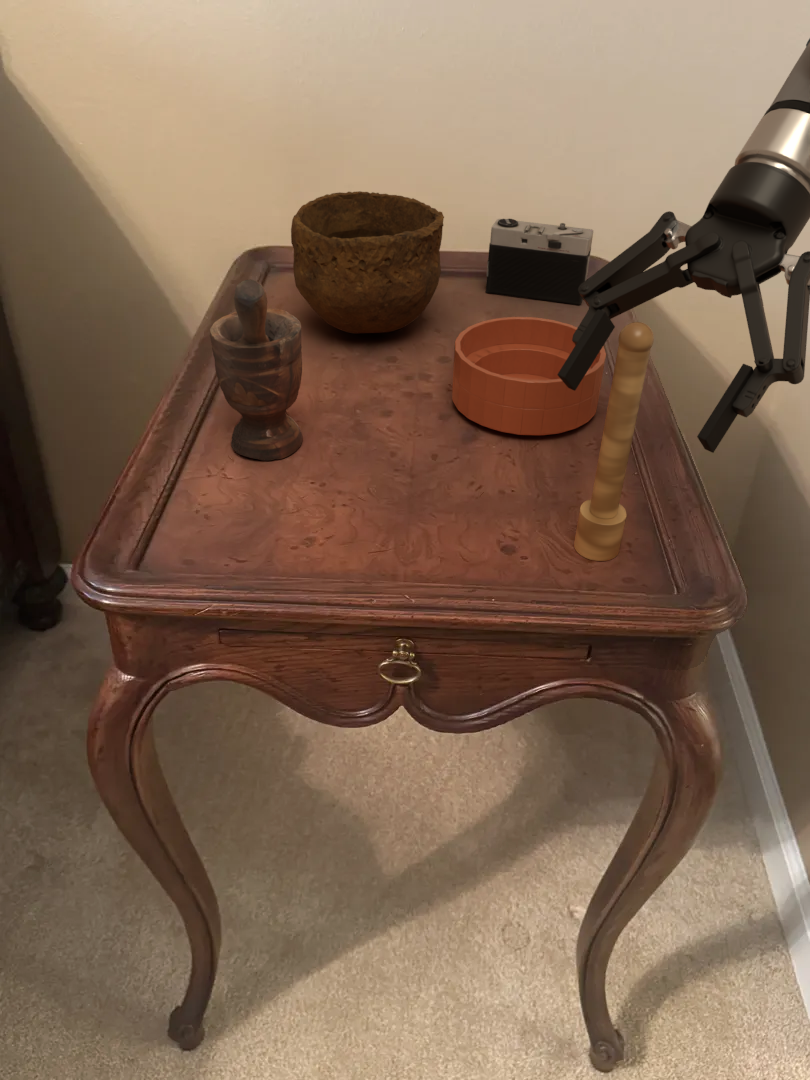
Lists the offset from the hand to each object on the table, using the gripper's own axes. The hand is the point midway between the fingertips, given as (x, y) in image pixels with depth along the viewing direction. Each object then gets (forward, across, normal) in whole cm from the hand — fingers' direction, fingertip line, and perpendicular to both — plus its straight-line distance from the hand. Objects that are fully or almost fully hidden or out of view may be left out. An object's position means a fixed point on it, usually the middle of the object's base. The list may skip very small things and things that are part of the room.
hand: (631, 412), depth 72 cm
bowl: (-1, +48, -19) cm, 52 cm away
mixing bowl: (0, +22, -19) cm, 29 cm away
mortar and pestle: (+19, +32, 0) cm, 37 cm away
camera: (-20, +42, -38) cm, 60 cm away
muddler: (+10, 0, -8) cm, 13 cm away
